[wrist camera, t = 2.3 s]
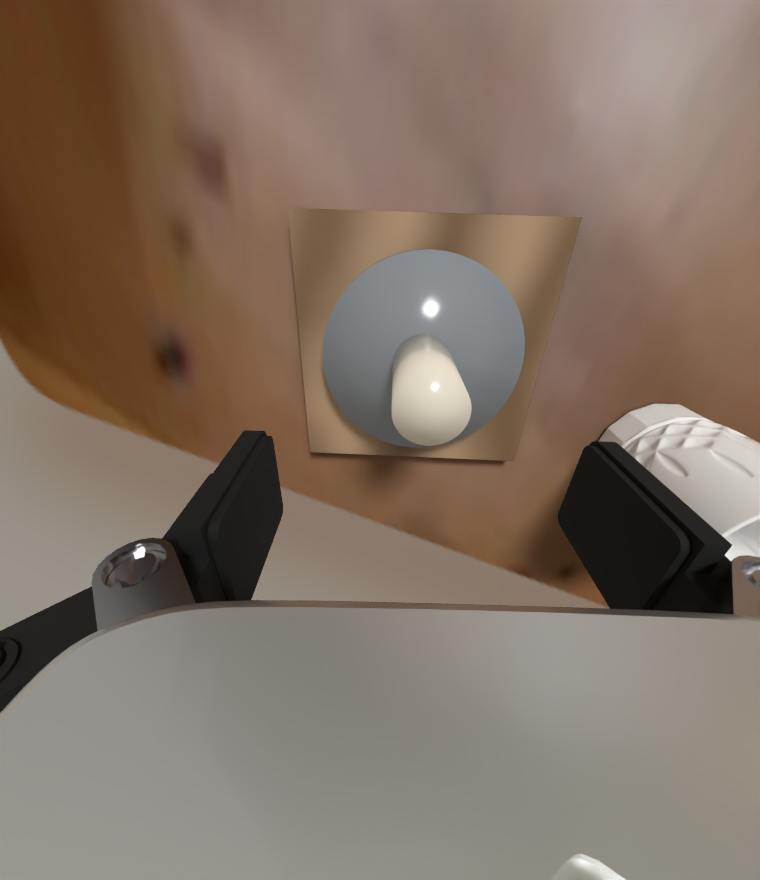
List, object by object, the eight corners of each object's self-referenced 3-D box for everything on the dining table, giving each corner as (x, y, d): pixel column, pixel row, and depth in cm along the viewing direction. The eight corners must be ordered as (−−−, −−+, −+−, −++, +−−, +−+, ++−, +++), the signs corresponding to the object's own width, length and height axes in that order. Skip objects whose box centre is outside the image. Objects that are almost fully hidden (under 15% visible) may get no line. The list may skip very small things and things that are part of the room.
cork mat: (572, 218, 17) (581, 217, 16) (509, 453, 24) (513, 461, 24) (292, 209, 17) (287, 207, 16) (312, 444, 25) (309, 452, 24)
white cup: (622, 507, 27) (730, 637, 18) (560, 451, 24) (650, 571, 16) (730, 441, 23) (925, 562, 15) (670, 368, 21) (861, 463, 12)
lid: (541, 251, 17) (623, 263, 11) (496, 441, 23) (534, 518, 17) (320, 245, 17) (277, 252, 11) (331, 434, 23) (307, 508, 17)
